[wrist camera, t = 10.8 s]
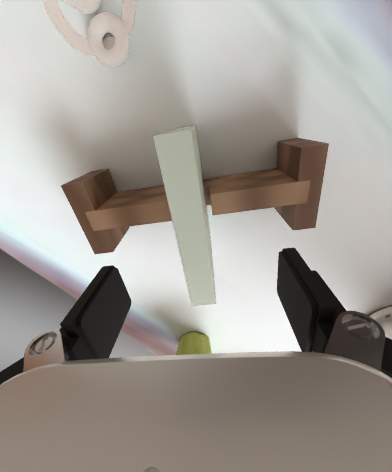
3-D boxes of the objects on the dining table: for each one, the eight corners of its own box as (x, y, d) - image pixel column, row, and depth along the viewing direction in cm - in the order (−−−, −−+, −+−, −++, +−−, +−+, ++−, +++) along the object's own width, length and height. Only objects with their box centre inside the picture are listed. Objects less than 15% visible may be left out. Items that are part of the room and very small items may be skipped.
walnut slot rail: (298, 138, 22) (328, 143, 17) (292, 206, 26) (315, 227, 21) (91, 171, 24) (60, 185, 19) (114, 229, 28) (94, 254, 23)
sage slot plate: (195, 125, 21) (191, 129, 11) (210, 236, 28) (216, 303, 18) (175, 128, 22) (152, 136, 11) (195, 238, 29) (192, 305, 18)
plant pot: (163, 332, 40) (154, 382, 32) (206, 320, 38) (208, 370, 30) (183, 357, 44) (180, 406, 36) (224, 347, 42) (229, 397, 34)
